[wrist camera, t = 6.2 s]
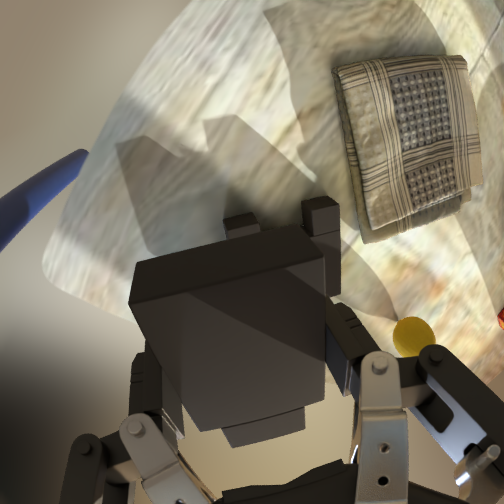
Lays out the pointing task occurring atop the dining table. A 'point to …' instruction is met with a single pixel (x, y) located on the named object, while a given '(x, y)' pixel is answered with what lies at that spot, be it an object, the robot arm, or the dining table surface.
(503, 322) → the baking soda box
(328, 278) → the notch pad
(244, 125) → the dining table surface
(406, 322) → the lemon
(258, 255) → the pad
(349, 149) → the dish towel
